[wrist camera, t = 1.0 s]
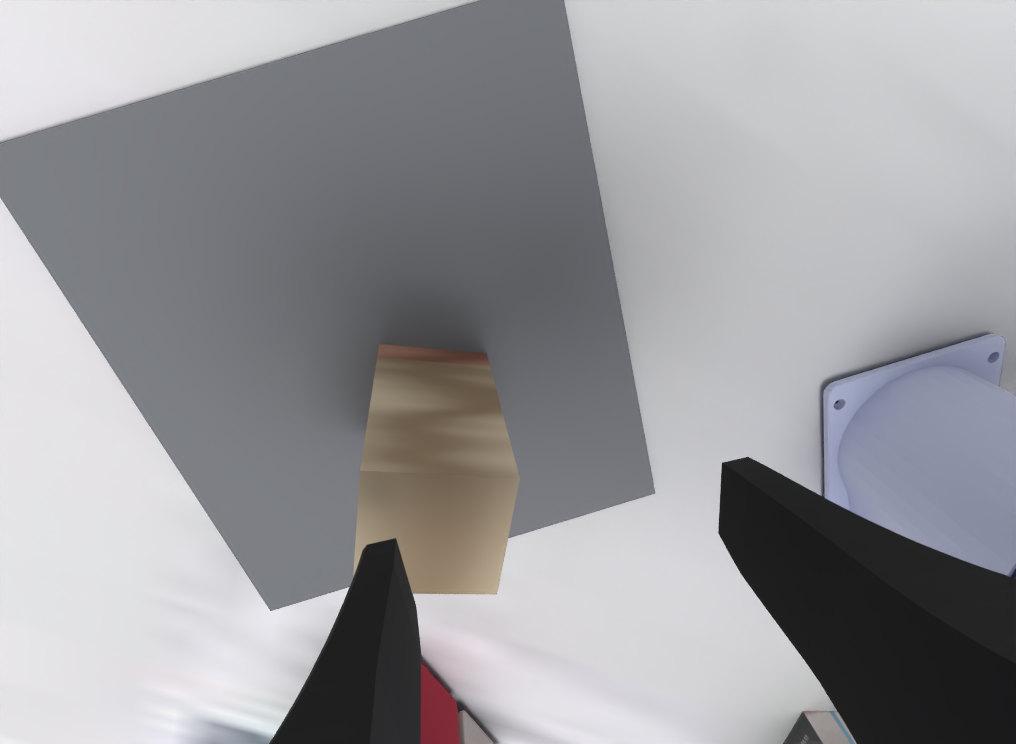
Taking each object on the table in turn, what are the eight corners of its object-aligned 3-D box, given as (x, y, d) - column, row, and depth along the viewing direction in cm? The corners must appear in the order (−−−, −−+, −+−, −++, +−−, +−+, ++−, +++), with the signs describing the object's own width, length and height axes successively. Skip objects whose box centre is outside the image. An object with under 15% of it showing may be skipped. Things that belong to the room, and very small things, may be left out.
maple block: (486, 353, 22) (520, 478, 15) (472, 442, 24) (496, 594, 17) (379, 343, 21) (359, 470, 14) (372, 437, 23) (352, 592, 16)
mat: (652, 489, 27) (655, 493, 26) (272, 605, 26) (270, 611, 26) (557, -22, 17) (559, -24, 17) (-23, 150, 17) (-30, 151, 17)
